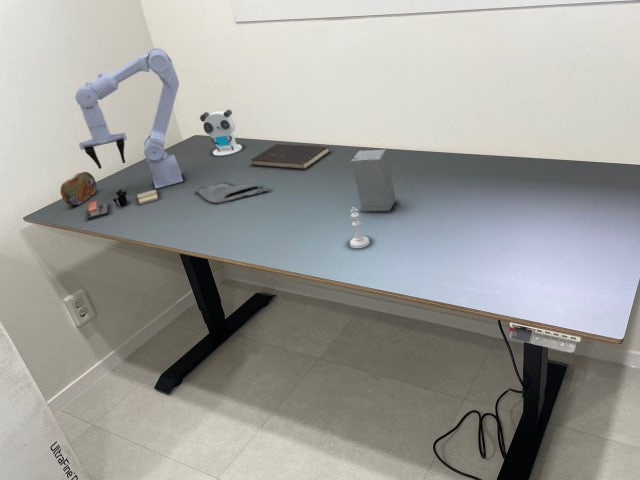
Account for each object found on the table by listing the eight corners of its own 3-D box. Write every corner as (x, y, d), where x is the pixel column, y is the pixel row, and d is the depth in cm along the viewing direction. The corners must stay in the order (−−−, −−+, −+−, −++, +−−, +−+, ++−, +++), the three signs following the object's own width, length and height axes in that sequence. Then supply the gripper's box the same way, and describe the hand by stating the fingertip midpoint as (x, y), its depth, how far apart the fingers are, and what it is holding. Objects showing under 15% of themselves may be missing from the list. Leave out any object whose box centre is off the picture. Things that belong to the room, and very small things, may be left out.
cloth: (184, 199, 183) (181, 193, 182) (213, 182, 192) (211, 176, 191) (244, 207, 170) (242, 201, 169) (272, 188, 180) (271, 182, 179)
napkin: (156, 193, 191) (155, 189, 191) (158, 199, 186) (157, 195, 186) (138, 198, 190) (137, 194, 189) (139, 204, 185) (138, 200, 184)
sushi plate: (108, 205, 188) (104, 198, 186) (108, 214, 181) (104, 206, 180) (89, 211, 186) (85, 203, 185) (88, 220, 180) (85, 212, 178)
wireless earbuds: (128, 200, 190) (122, 186, 187) (134, 199, 189) (129, 185, 186) (115, 209, 184) (109, 195, 181) (122, 209, 184) (116, 195, 181)
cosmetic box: (396, 201, 159) (389, 147, 150) (388, 213, 153) (380, 158, 145) (368, 201, 162) (359, 148, 153) (359, 212, 156) (350, 158, 148)
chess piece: (349, 240, 144) (342, 204, 138) (368, 237, 144) (362, 201, 138) (350, 249, 139) (343, 213, 134) (370, 246, 139) (364, 210, 134)
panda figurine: (206, 157, 216) (194, 118, 208) (218, 146, 226) (207, 108, 218) (235, 154, 214) (224, 115, 206) (246, 143, 223) (235, 105, 215)
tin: (73, 209, 190) (63, 186, 185) (66, 209, 191) (55, 186, 186) (100, 190, 202) (90, 167, 198) (92, 190, 203) (83, 168, 198)
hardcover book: (304, 169, 190) (303, 163, 189) (252, 165, 201) (250, 159, 200) (330, 152, 201) (328, 145, 200) (279, 149, 212) (277, 143, 211)
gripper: (73, 133, 178) (89, 173, 185) (120, 123, 182) (135, 163, 189) (73, 128, 184) (89, 167, 191) (120, 118, 188) (134, 157, 195)
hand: (112, 165), depth 190 cm, fingers open, 7 cm apart
